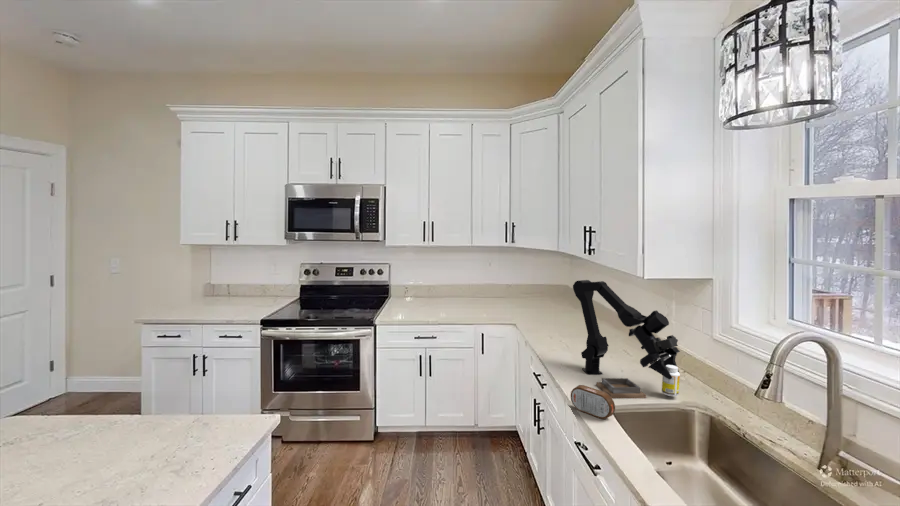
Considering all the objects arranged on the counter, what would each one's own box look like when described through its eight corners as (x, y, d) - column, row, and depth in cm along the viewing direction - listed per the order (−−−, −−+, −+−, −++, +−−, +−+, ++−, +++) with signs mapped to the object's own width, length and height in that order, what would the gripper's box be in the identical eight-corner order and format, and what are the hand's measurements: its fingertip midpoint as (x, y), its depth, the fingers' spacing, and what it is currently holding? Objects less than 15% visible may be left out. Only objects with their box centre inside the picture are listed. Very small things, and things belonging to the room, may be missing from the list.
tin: (615, 420, 141) (616, 394, 140) (610, 423, 139) (611, 397, 138) (573, 405, 152) (574, 381, 151) (568, 407, 150) (569, 383, 149)
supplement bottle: (672, 390, 164) (674, 363, 164) (681, 396, 159) (683, 368, 158) (658, 390, 164) (660, 363, 163) (667, 396, 158) (669, 368, 158)
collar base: (596, 385, 172) (596, 377, 172) (628, 385, 173) (629, 377, 173) (610, 398, 159) (611, 389, 159) (645, 398, 160) (646, 389, 160)
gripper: (650, 331, 157) (679, 371, 149) (675, 325, 168) (704, 361, 160) (628, 347, 164) (655, 386, 156) (654, 340, 175) (680, 376, 167)
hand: (674, 377), depth 160 cm, fingers closed on supplement bottle, 6 cm apart
